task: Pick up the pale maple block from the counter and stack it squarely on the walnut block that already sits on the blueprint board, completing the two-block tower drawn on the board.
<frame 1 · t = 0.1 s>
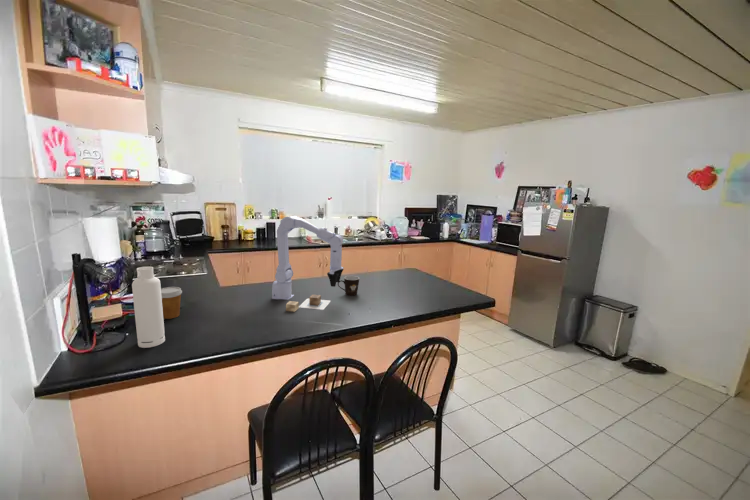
hand: (335, 284, 160), 10 cm above the table, fingers open, 7 cm apart
maple block: (292, 310, 149), on the table
bottle: (151, 342, 114), on the table
blueprint board: (315, 304, 158), on the table
walnut block: (315, 303, 158), point 1 cm above the table, touching blueprint board
disposable coffee cup: (171, 316, 136), on the table
coffee mug: (348, 295, 176), on the table
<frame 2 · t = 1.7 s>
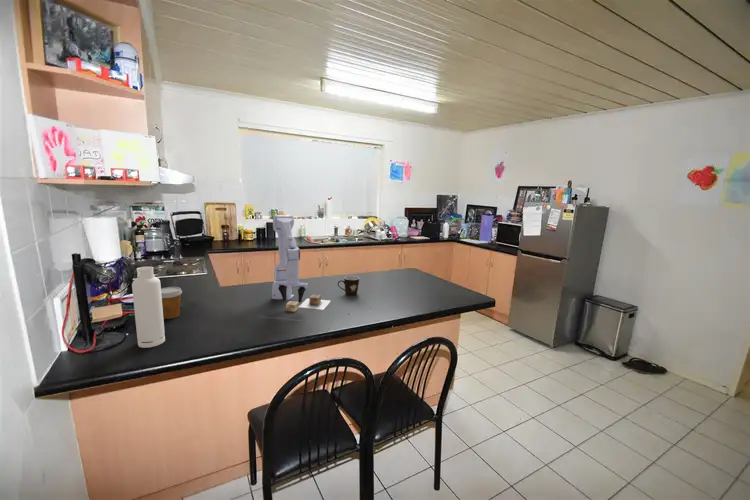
hand: (292, 301, 148), 5 cm above the table, fingers open, 7 cm apart
nothing on the table moved.
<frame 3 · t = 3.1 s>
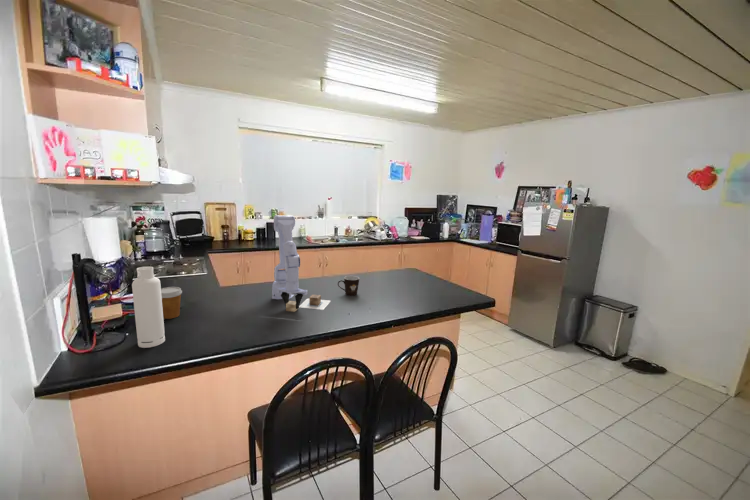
hand: (292, 307, 149), 1 cm above the table, fingers closed on maple block, 4 cm apart
maple block: (292, 310, 149), on the table, touching gripper
everything else where it was.
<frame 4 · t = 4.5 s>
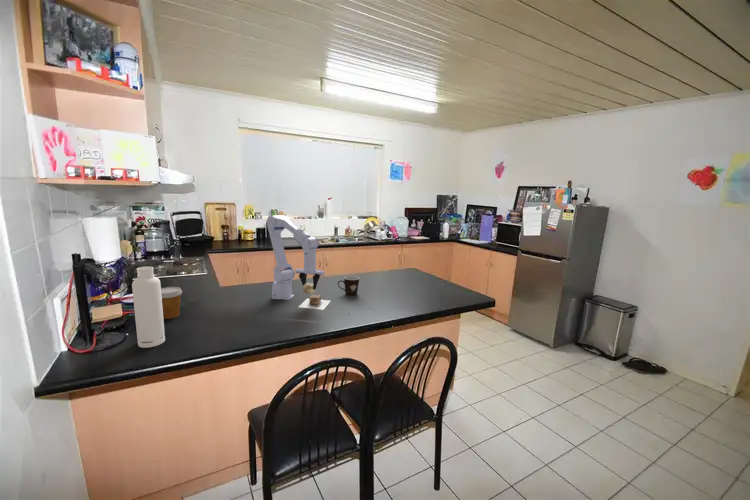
hand: (309, 288, 154), 9 cm above the table, fingers closed on maple block, 5 cm apart
maple block: (309, 292, 154), point 8 cm above the table, touching gripper
everything else where it was.
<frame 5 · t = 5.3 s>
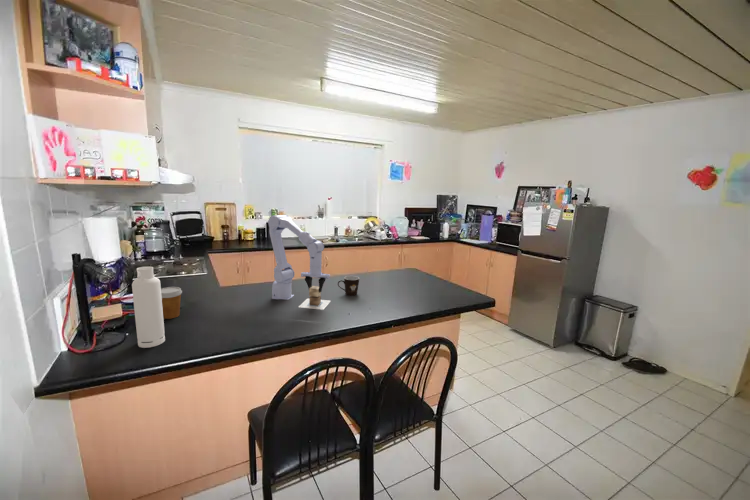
hand: (315, 291, 156), 7 cm above the table, fingers closed on maple block, 5 cm apart
maple block: (315, 295, 156), point 5 cm above the table, touching gripper
everything else where it was.
when the fingers open (7 cm above the table, at t = 6.0 s): maple block stays where it is, resting on walnut block.
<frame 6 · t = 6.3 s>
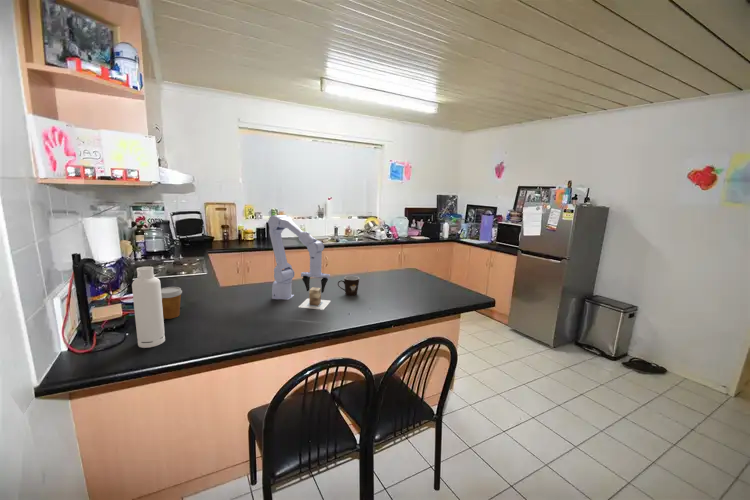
hand: (315, 291, 156), 7 cm above the table, fingers open, 7 cm apart
maple block: (315, 296, 157), point 5 cm above the table, touching walnut block
walnut block: (315, 303, 158), point 1 cm above the table, touching blueprint board, maple block
everything else where it was.
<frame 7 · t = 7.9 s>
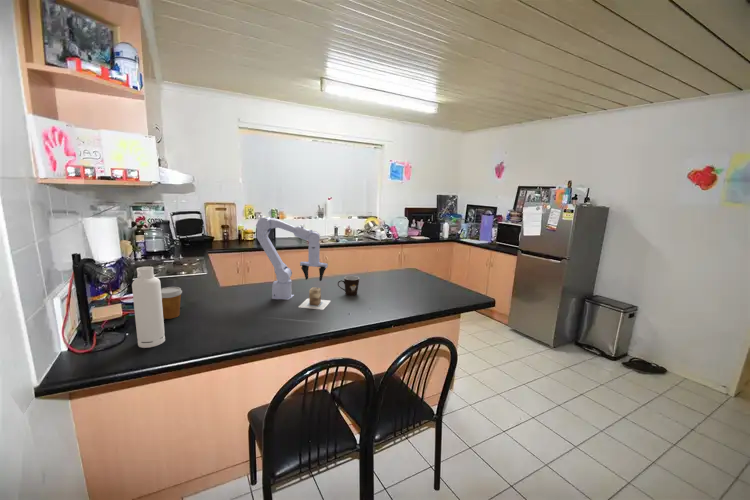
hand: (313, 279, 165), 10 cm above the table, fingers open, 7 cm apart
nothing on the table moved.
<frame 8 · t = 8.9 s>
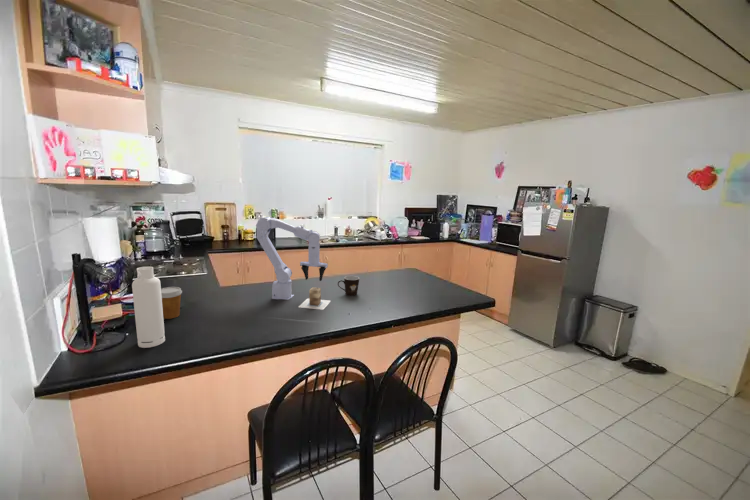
hand: (313, 279, 165), 10 cm above the table, fingers open, 7 cm apart
nothing on the table moved.
at the end: maple block 0.3 cm off-centre on the walnut block, point 4.0 cm above the walnut block's base; walnut block moved 0.0 cm from its start; the gripper is holding nothing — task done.
